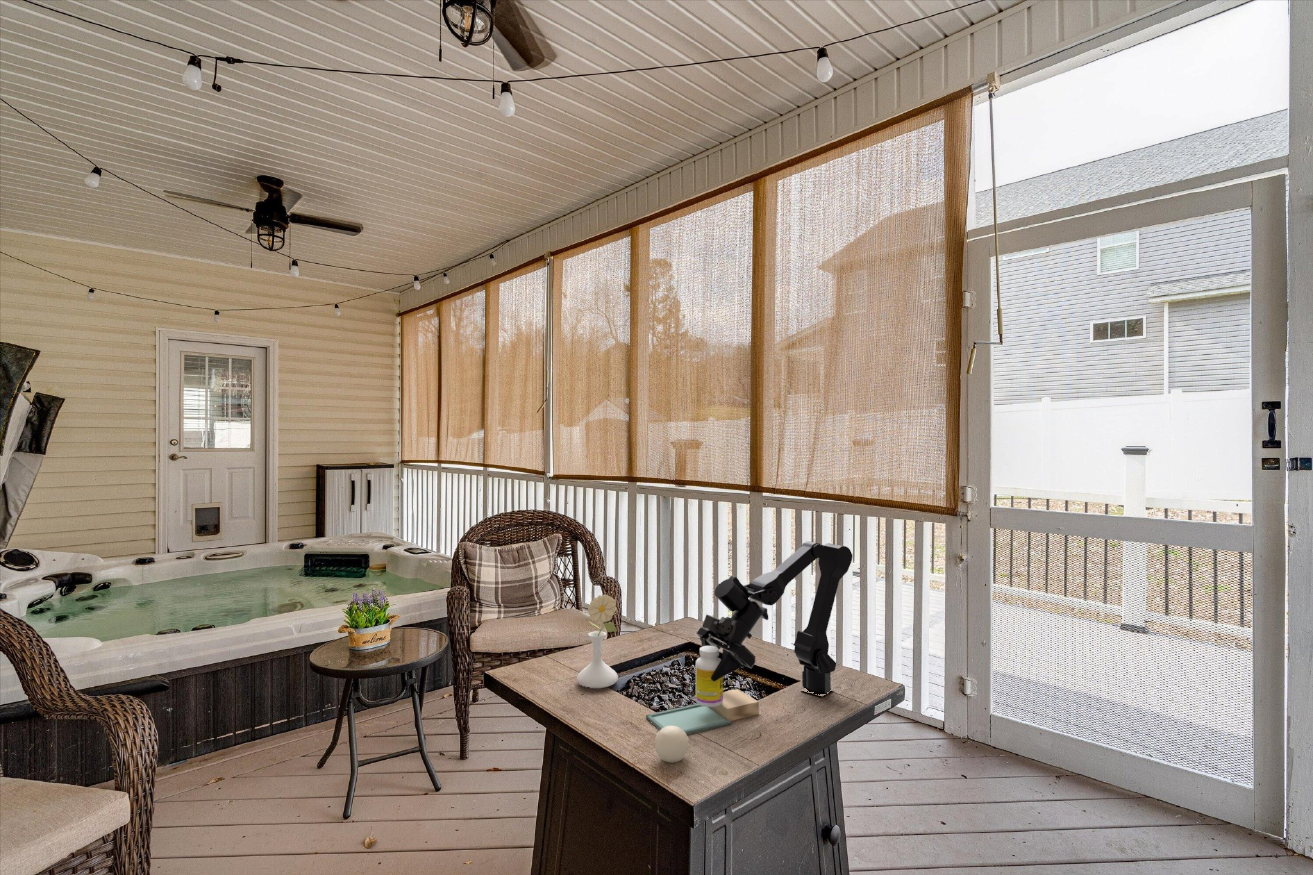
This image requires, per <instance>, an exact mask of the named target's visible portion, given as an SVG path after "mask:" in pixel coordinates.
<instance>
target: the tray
mask: <svg viewBox="0 0 1313 875" xmlns="http://www.w3.org/2000/svg"><path fill="white" fill-rule="evenodd" d="M646 718H647V719H648V720H647V719H646ZM645 719H646V720H647V721H649V720H650V721H649V722H650V723H651V722H652V723H651V724H652V725H653V726H654V727H656V729H658V730H659V731H660V730H661V729H662V728H664V727H666V726H677V727H679V728H681V729H682V730H683V731H684V732H685V733H686V735H687V736H688V735H692V734H696V733H697V734H698V733H701V732H704V731H708V730H713V729H717V728H721V727H722V728H723V727H725V726H730V725H731V721H730V720H726V719H724V718H723V717H722V716H720V715H719V714H717V713H716V712H714V711H713V710H712V709H710V708H709V707H704V706H701V705H699V704H698V703H695V704H690V705H687V706H680V707H677V708H671V709H667V710H663V711H657V712H653V713H649V714H645Z"/></svg>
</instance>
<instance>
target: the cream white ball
mask: <svg viewBox="0 0 1313 875" xmlns="http://www.w3.org/2000/svg"><path fill="white" fill-rule="evenodd" d="M689 743H690V739H689V737H688V735H686V733H685V732H684V731H683V730H682V729H681V728H679V727H677V726H666V727H664V728H662V729H661V730H659V731H658V732H657V734H656V736H655V739H654V749H655V753H656V754H657V756H658V757H659V758H660V759H661V760H662V761H664V762H666V763H677V762H680V761H681V760H683V759H684V758H685V756H686V755H687V753H688V750H689Z"/></svg>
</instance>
